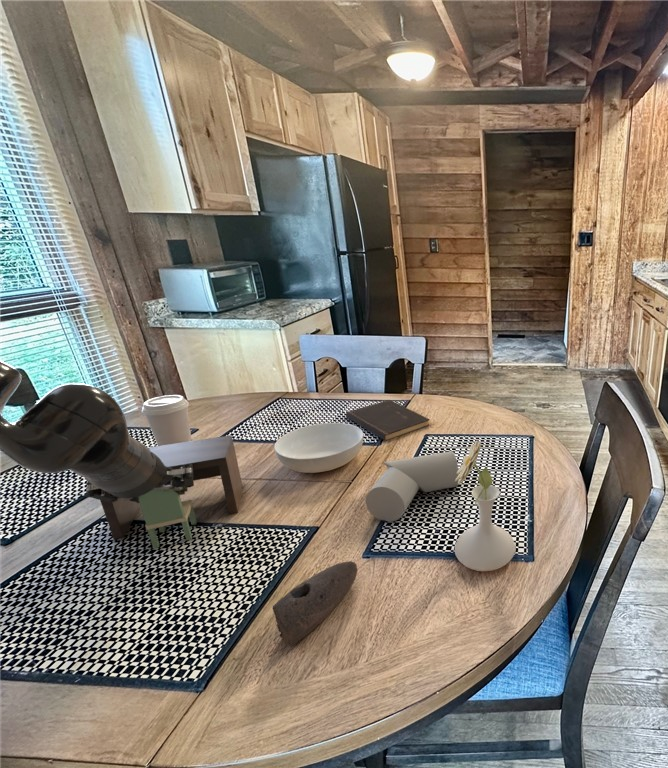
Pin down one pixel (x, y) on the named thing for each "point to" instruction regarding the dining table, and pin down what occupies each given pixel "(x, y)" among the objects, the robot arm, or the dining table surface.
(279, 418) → the dining table surface
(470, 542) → the flower in vase
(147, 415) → the coffee cup
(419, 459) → the l-shaped cylinder
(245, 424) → the dining table surface
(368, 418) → the hardcover book
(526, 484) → the dining table surface
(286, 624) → the perforated stone tool
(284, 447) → the serving bowl
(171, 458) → the desk
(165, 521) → the chair
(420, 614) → the dining table surface
